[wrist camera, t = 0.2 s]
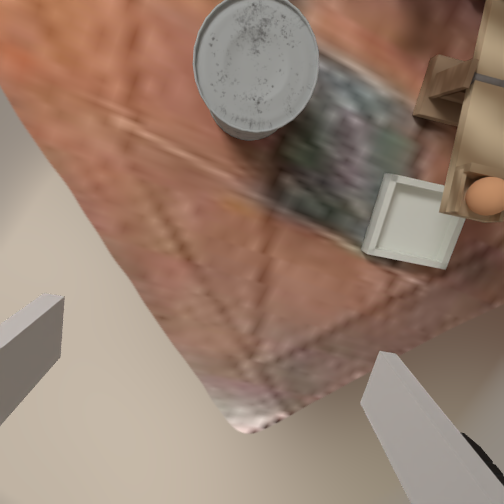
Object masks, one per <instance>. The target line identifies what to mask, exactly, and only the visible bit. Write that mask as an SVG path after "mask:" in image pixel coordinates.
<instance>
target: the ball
mask: <svg viewBox="0 0 504 504" xmlns="http://www.w3.org/2000/svg"><path fill="white" fill-rule="evenodd" d="M465 200H466V204H467V206H468V208H469V209H470V210H471V211H473V212H474V213H476V214H479V215H484V216H489V215H495V214H498V213H500V212H502V211H503V210H504V180H503V179H501V178H497V177H485V178H482V179H479V180H477V181H475V182H474V183H473V184H472V185H471V186H470V187H469V188H468V190H467V192H466V196H465Z"/></svg>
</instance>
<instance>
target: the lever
mask: <svg viewBox="0 0 504 504" xmlns="http://www.w3.org/2000/svg"><path fill="white" fill-rule="evenodd" d="M473 58H474V59H478V60H479V61H478V64H477V67H476V70H475V72H474V75H473V78H472V81H471V84H470V86H469V88H468V89H466V92H465V96H464V101H463V105H462V110H461V115H460V119H459V124H458V128H457V133H456V137H455V142H454V146H453V151H452V155H451V160H450V164H449V169H448V173H447V178H446V182H445V187H444V191H443V196H442V200H441V205H440V209H439V213H443V214H448V215H452V216H457V217H461V218H466V219H470V220H475V221H480V222H503V219H504V210H503V211H502V212H500V213H498V214H495V215H489V216H484V215H479V214H476V213H474V212H473V211H471V210H470V209H469V208H468V206H467V204H466V200H465V196H466V192H467V190H468V188H469V187H470V186H471V185H472V184H473V183H474V182H475V181H477V180H479V179H482V178H485V177H497V178H501V179H503V180H504V0H486V2H485V6H484V11H483V15H482V20H481V24H480V29H479V33H478V38H477V42H476V47H475V51H474V56H473Z"/></svg>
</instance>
